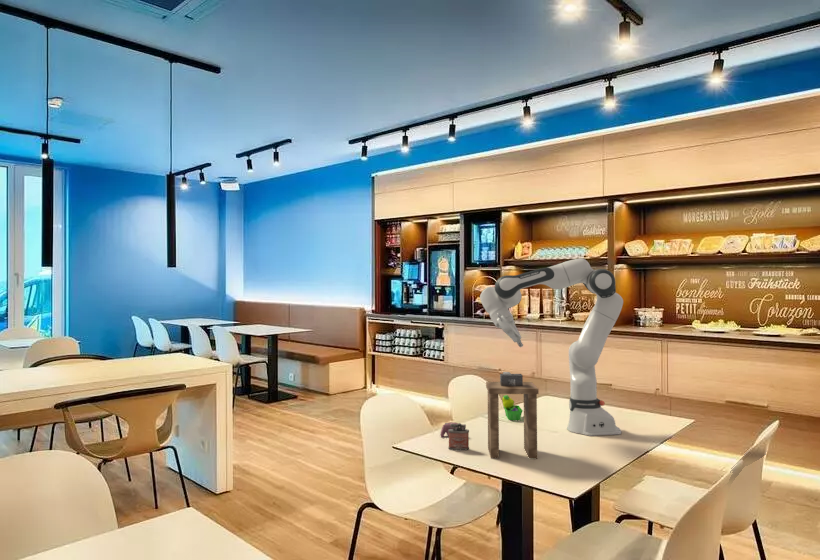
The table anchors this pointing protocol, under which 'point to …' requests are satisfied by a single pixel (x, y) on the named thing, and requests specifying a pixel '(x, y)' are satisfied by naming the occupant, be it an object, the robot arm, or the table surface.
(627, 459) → the table surface
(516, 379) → the steel t handle
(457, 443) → the lighter
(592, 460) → the table surface
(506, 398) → the fruit basket
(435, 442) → the table surface
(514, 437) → the table surface
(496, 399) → the walnut shelf
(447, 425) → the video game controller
